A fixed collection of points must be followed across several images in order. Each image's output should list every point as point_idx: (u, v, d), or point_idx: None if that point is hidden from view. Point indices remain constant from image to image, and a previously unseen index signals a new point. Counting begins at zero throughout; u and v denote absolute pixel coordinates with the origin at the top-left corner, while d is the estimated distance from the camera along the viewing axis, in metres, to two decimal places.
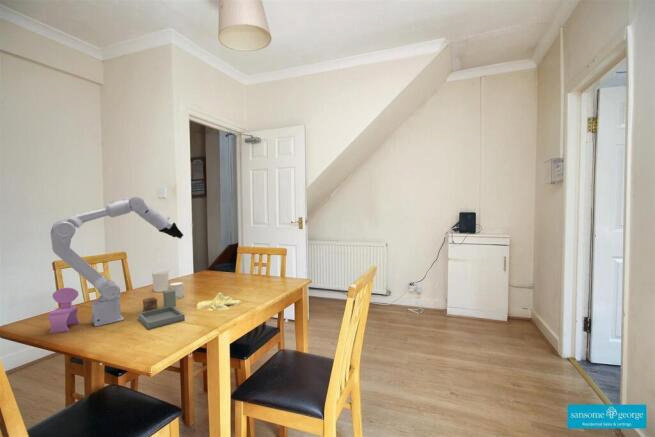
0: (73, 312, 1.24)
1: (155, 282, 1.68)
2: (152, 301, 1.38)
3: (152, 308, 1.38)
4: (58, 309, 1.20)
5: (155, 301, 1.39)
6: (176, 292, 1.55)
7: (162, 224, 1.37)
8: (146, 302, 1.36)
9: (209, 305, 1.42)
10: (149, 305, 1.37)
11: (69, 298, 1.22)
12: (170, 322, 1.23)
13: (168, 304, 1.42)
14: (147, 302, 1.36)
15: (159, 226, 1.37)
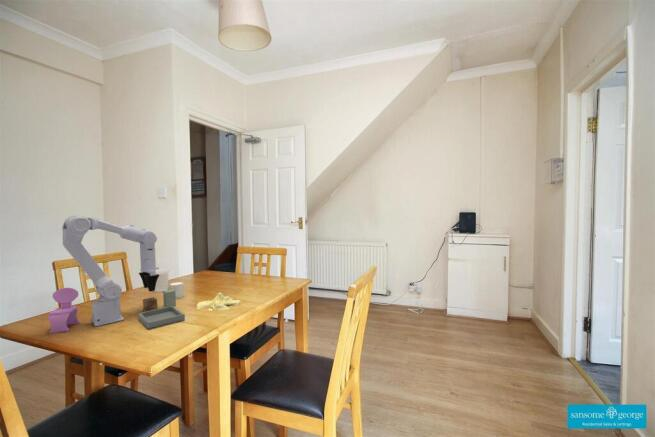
0: (73, 312, 1.24)
1: None
2: (152, 301, 1.38)
3: (152, 308, 1.38)
4: (58, 309, 1.20)
5: (155, 301, 1.39)
6: (176, 292, 1.55)
7: (148, 268, 1.36)
8: (146, 302, 1.36)
9: (209, 305, 1.42)
10: (149, 305, 1.37)
11: (69, 298, 1.22)
12: (170, 322, 1.23)
13: (168, 304, 1.42)
14: (147, 302, 1.36)
15: (145, 268, 1.36)
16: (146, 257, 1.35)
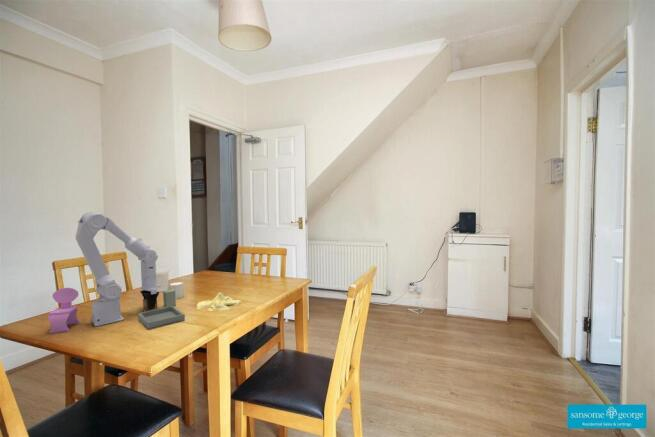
0: (73, 312, 1.24)
1: None
2: None
3: (152, 308, 1.38)
4: (58, 309, 1.20)
5: None
6: (176, 292, 1.55)
7: (149, 286, 1.36)
8: (146, 302, 1.36)
9: (209, 305, 1.42)
10: None
11: (69, 298, 1.22)
12: (170, 322, 1.23)
13: (168, 304, 1.42)
14: None
15: (145, 286, 1.36)
16: (147, 275, 1.36)
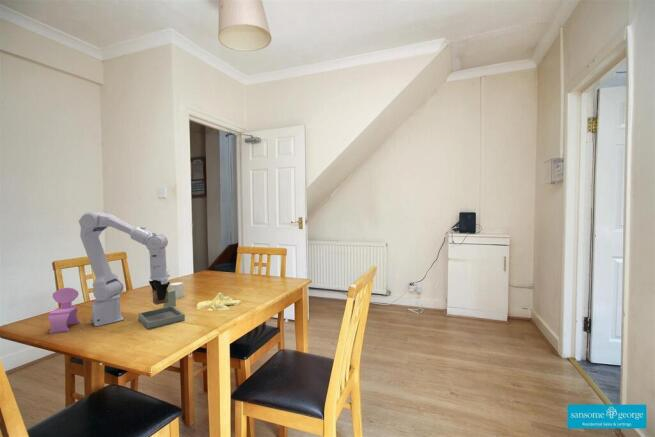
0: (73, 312, 1.24)
1: None
2: None
3: (163, 300, 1.26)
4: (58, 309, 1.20)
5: (166, 292, 1.27)
6: (176, 292, 1.55)
7: (159, 276, 1.25)
8: (156, 293, 1.25)
9: (209, 305, 1.42)
10: None
11: (69, 298, 1.22)
12: (170, 322, 1.23)
13: (168, 304, 1.42)
14: None
15: (155, 276, 1.24)
16: (151, 264, 1.25)
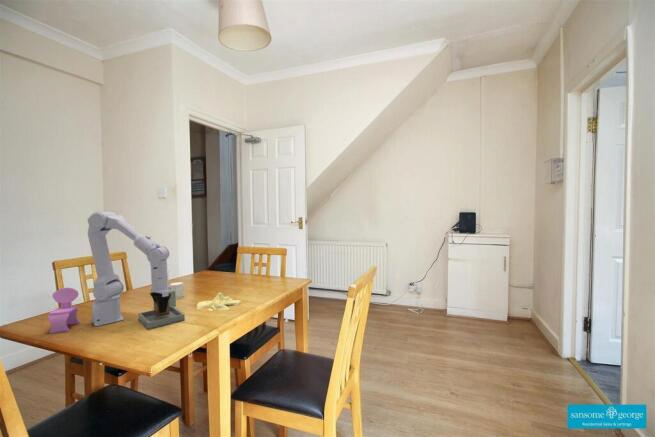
0: (73, 312, 1.24)
1: None
2: None
3: (164, 312, 1.26)
4: (58, 309, 1.20)
5: (167, 304, 1.27)
6: (176, 292, 1.55)
7: (160, 288, 1.24)
8: (157, 305, 1.24)
9: (209, 305, 1.42)
10: None
11: (69, 298, 1.22)
12: (170, 322, 1.23)
13: None
14: None
15: (156, 288, 1.24)
16: (152, 276, 1.24)
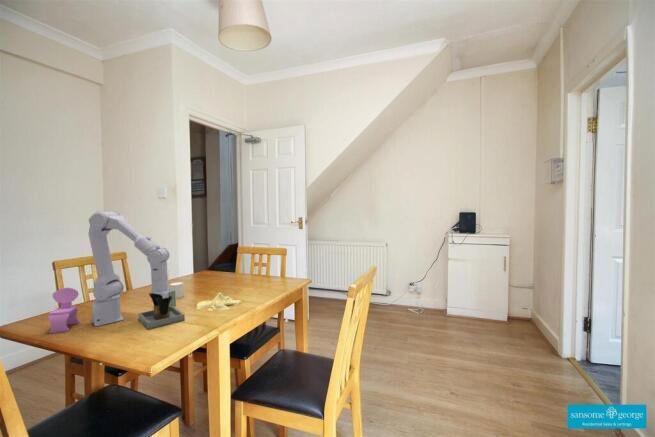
0: (73, 312, 1.24)
1: None
2: None
3: (164, 316, 1.26)
4: (58, 309, 1.20)
5: None
6: (176, 292, 1.55)
7: (160, 290, 1.24)
8: (157, 309, 1.24)
9: (209, 305, 1.42)
10: None
11: (69, 298, 1.22)
12: (170, 322, 1.23)
13: None
14: None
15: (156, 289, 1.24)
16: (152, 277, 1.24)
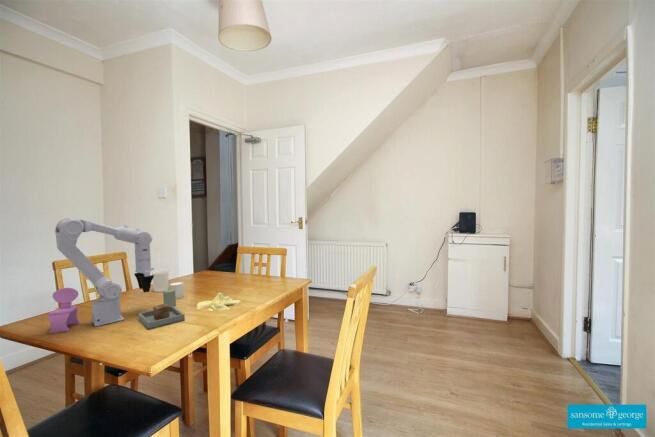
0: (73, 312, 1.24)
1: (155, 282, 1.68)
2: (164, 308, 1.26)
3: (164, 316, 1.26)
4: (58, 309, 1.20)
5: (167, 308, 1.27)
6: (176, 292, 1.55)
7: (143, 269, 1.34)
8: (157, 309, 1.24)
9: (209, 305, 1.42)
10: (161, 312, 1.25)
11: (69, 298, 1.22)
12: (170, 322, 1.23)
13: (168, 304, 1.42)
14: (159, 309, 1.24)
15: (139, 269, 1.34)
16: (141, 258, 1.34)
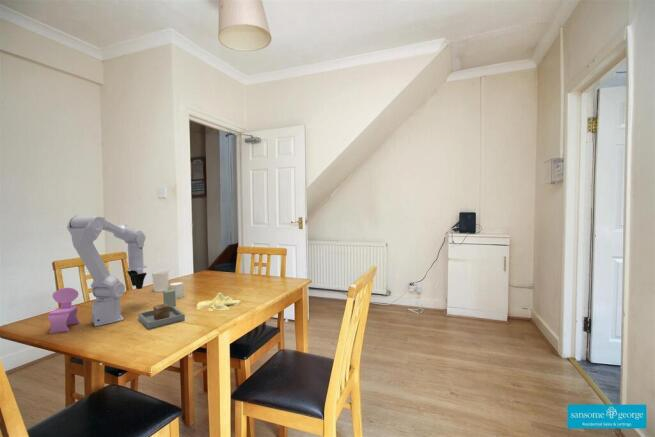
0: (73, 312, 1.24)
1: (155, 282, 1.68)
2: (164, 308, 1.26)
3: (164, 316, 1.26)
4: (58, 309, 1.20)
5: (167, 308, 1.27)
6: (176, 292, 1.55)
7: (136, 267, 1.40)
8: (157, 309, 1.24)
9: (209, 305, 1.42)
10: (161, 312, 1.25)
11: (69, 298, 1.22)
12: (170, 322, 1.23)
13: (168, 304, 1.42)
14: (159, 309, 1.24)
15: (132, 266, 1.39)
16: (138, 255, 1.40)
